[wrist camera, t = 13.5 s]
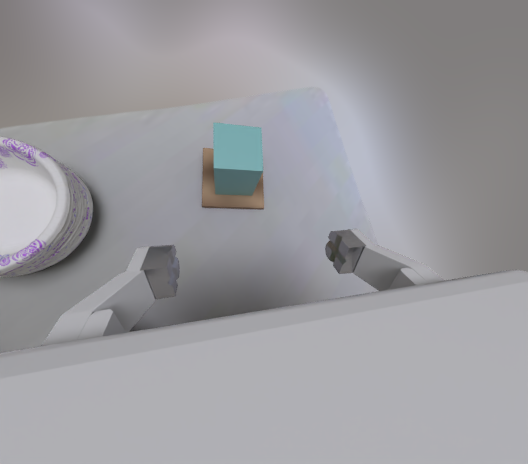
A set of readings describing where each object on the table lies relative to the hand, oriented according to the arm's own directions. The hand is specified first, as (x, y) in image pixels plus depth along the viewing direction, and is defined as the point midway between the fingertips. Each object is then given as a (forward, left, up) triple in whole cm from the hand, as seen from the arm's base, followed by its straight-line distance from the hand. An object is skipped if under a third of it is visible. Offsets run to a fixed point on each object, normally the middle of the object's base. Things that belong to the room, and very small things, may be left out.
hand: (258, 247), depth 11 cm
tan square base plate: (+13, -5, -22) cm, 26 cm away
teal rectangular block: (+13, -5, -21) cm, 25 cm away
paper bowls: (+15, +22, -23) cm, 35 cm away
